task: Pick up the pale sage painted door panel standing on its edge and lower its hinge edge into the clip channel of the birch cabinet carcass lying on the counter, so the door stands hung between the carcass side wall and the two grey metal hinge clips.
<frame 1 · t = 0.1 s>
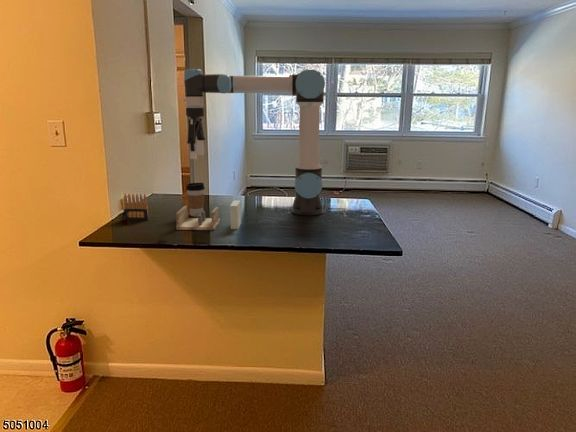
hand: (197, 156, 195), 28 cm above the table, fingers open, 13 cm apart
ammunition clip: (137, 219, 199), on the table
coffee cup: (196, 215, 207), on the table
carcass: (199, 225, 191), on the table
door: (236, 225, 190), on the table
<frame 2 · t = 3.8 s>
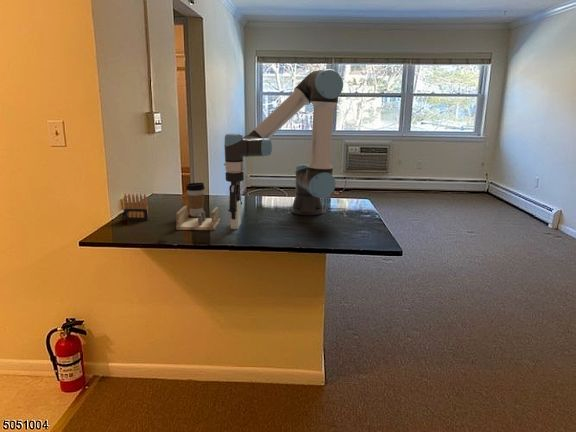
hand: (235, 222, 190), 1 cm above the table, fingers closed on door, 10 cm apart
door: (236, 225, 190), on the table, touching gripper
everything else where it was.
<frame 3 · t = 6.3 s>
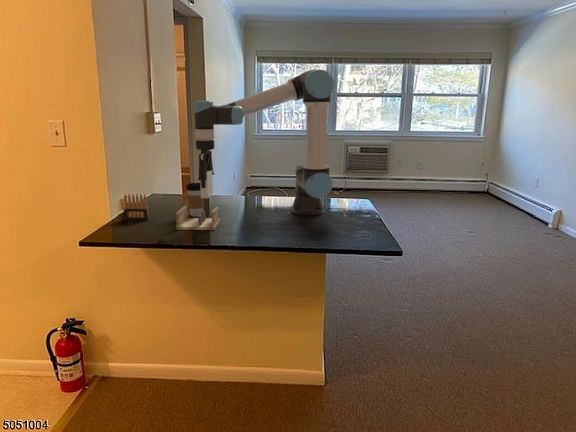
hand: (207, 192, 187), 14 cm above the table, fingers closed on door, 10 cm apart
door: (207, 195, 187), point 13 cm above the table, touching gripper
everything else where it was.
when the fingers open (4 cm above the table, at t = 8.8 s): door drops 1 cm, resting on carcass.
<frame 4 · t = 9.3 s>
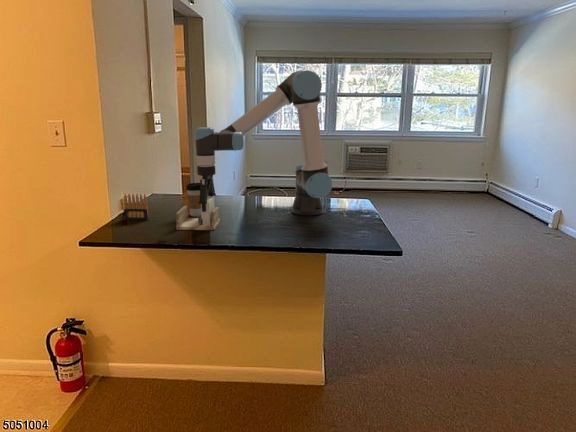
hand: (208, 214, 189), 5 cm above the table, fingers open, 13 cm apart
door: (208, 222, 190), point 1 cm above the table, touching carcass
everything else where it was.
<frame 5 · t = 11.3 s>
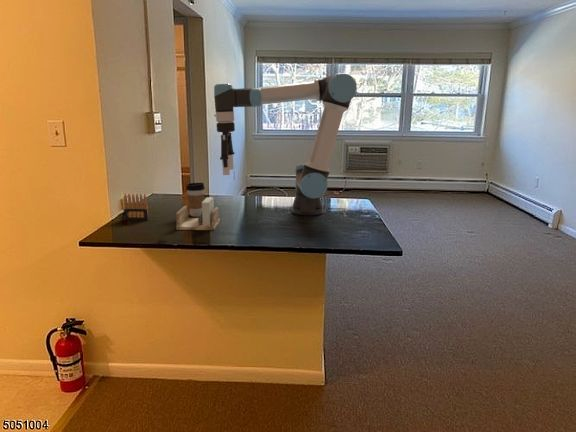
hand: (228, 172, 191), 22 cm above the table, fingers open, 13 cm apart
nothing on the table moved.
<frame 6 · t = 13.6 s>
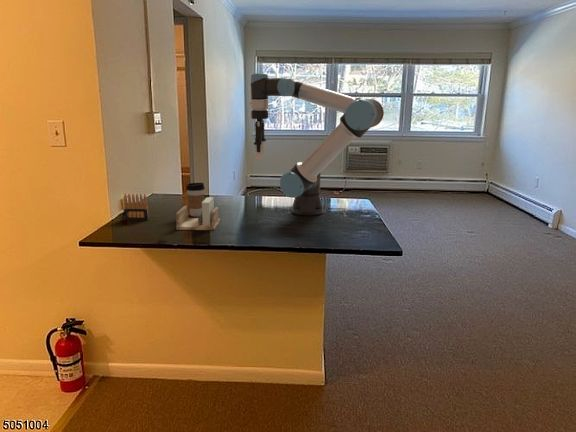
hand: (260, 157, 202), 27 cm above the table, fingers open, 13 cm apart
nothing on the table moved.
at the end: door 0.0 cm from the target spot on the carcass, point 1.2 cm above the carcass's base; door tilted 0°; the gripper is holding nothing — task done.
